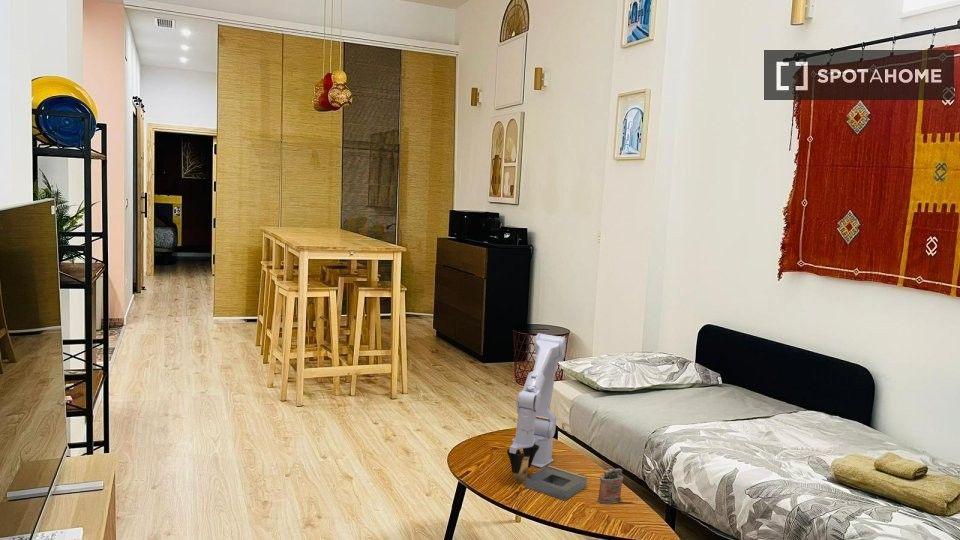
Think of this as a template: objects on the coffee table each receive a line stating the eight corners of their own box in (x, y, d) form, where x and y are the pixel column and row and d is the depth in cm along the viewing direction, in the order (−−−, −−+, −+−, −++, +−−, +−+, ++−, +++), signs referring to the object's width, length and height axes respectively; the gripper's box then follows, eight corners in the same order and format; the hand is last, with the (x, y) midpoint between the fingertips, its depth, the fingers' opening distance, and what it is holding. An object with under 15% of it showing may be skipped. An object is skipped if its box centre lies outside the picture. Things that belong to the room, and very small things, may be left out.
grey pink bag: (601, 504, 221) (605, 472, 219) (595, 500, 223) (598, 468, 222) (622, 501, 224) (626, 470, 223) (616, 497, 227) (619, 466, 226)
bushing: (517, 476, 237) (520, 452, 236) (529, 480, 235) (532, 455, 234) (510, 479, 233) (513, 455, 232) (522, 483, 231) (525, 459, 230)
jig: (547, 474, 241) (548, 464, 241) (586, 486, 233) (587, 476, 233) (524, 487, 228) (525, 476, 228) (565, 500, 221) (566, 490, 221)
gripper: (525, 420, 240) (521, 460, 242) (502, 430, 228) (498, 472, 230) (544, 425, 237) (540, 466, 238) (522, 435, 224) (518, 478, 226)
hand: (521, 469), depth 233 cm, fingers open, 7 cm apart
